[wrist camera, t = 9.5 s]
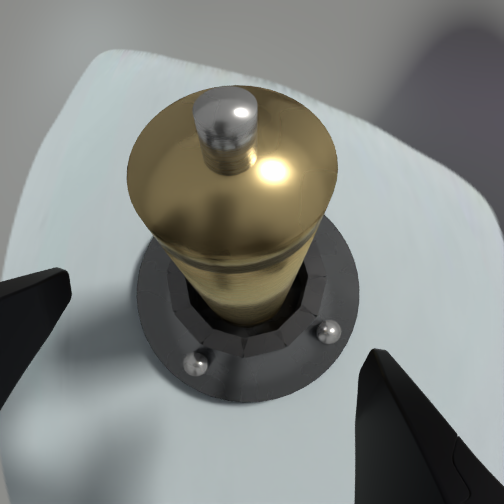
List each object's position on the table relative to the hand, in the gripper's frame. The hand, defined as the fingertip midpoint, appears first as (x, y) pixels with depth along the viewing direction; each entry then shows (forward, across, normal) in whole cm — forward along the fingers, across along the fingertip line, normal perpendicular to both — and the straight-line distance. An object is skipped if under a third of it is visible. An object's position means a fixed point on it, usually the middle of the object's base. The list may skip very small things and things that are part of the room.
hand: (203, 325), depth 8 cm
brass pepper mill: (+10, 0, +5) cm, 11 cm away
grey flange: (+11, 0, +5) cm, 12 cm away
